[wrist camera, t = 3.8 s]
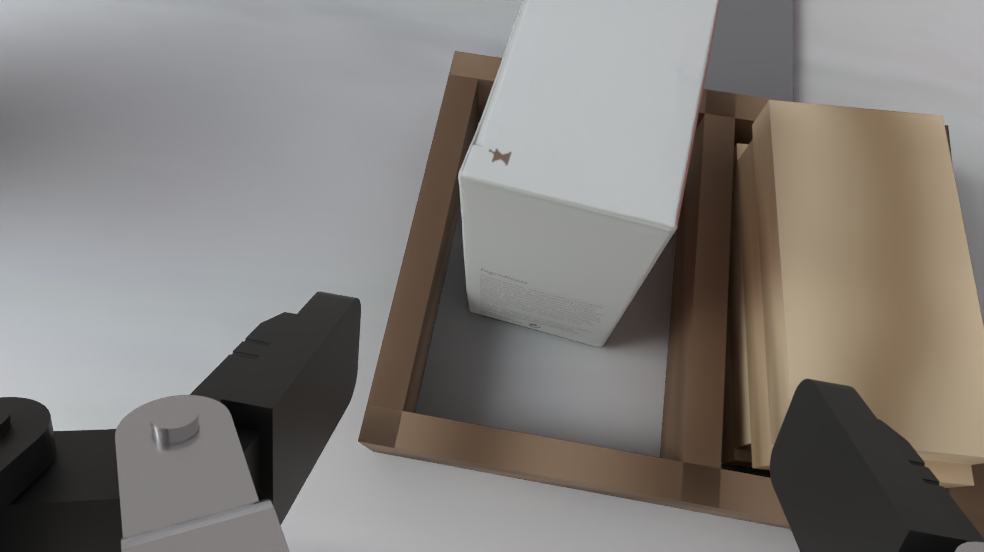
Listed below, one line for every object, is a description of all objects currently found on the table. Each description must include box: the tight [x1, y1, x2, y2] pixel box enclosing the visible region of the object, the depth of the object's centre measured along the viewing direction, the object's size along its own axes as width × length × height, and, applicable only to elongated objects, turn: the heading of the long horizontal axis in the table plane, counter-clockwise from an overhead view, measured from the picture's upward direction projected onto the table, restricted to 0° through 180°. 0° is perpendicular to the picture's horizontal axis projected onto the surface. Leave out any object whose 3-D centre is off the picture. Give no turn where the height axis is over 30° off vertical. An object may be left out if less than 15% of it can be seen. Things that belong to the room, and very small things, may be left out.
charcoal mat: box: [704, 0, 794, 102], centre depth 30 cm, size 12×9×1 cm
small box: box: [458, 0, 720, 348], centre depth 21 cm, size 8×6×10 cm
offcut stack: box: [721, 100, 984, 488], centre depth 23 cm, size 6×12×6 cm, turn 174°
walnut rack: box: [358, 51, 984, 538], centre depth 24 cm, size 20×16×3 cm
